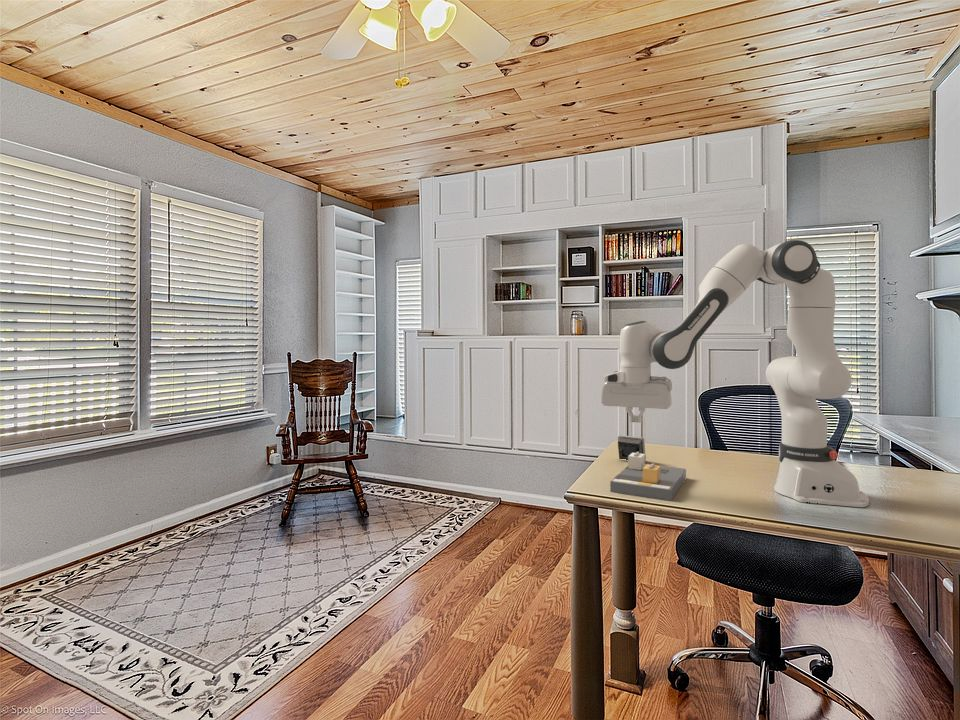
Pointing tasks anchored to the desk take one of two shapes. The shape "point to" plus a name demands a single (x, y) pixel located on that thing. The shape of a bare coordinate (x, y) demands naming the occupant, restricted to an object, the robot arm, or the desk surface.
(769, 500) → the desk surface
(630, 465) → the ivory slider
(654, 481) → the amber slider
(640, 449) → the grey hollow box
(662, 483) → the switch unit
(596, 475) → the desk surface
